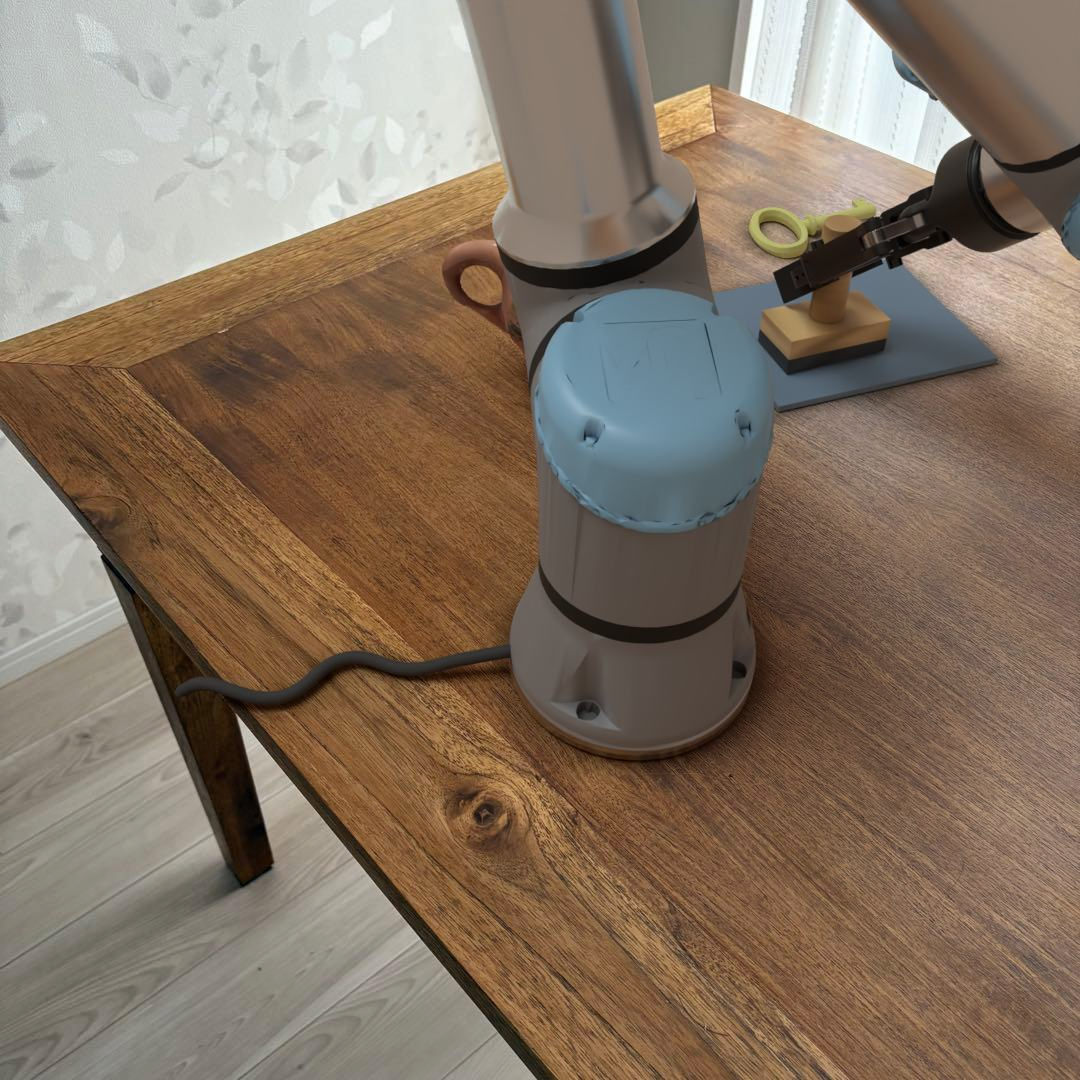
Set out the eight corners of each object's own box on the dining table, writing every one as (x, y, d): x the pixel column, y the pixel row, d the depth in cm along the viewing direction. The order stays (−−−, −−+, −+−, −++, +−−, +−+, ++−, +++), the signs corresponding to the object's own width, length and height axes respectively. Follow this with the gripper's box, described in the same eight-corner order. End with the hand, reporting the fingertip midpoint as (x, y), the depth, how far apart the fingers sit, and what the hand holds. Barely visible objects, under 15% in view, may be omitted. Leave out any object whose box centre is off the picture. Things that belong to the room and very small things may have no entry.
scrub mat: (777, 412, 87) (778, 406, 86) (693, 302, 97) (694, 296, 97) (996, 363, 91) (998, 357, 91) (893, 263, 102) (895, 257, 101)
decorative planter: (437, 422, 86) (424, 265, 76) (456, 330, 94) (447, 178, 84) (696, 434, 85) (717, 277, 75) (692, 340, 93) (711, 187, 83)
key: (878, 225, 106) (883, 205, 105) (781, 264, 102) (785, 243, 100) (826, 194, 111) (829, 174, 109) (730, 230, 106) (733, 210, 104)
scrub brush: (786, 373, 89) (807, 248, 81) (757, 341, 92) (774, 218, 85) (884, 351, 91) (912, 227, 84) (852, 320, 95) (876, 199, 87)
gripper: (941, 271, 67) (736, 353, 89) (1129, 201, 73) (894, 294, 95) (900, 151, 66) (704, 263, 88) (1093, 91, 72) (865, 210, 94)
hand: (803, 279), depth 91 cm, fingers open, 4 cm apart
